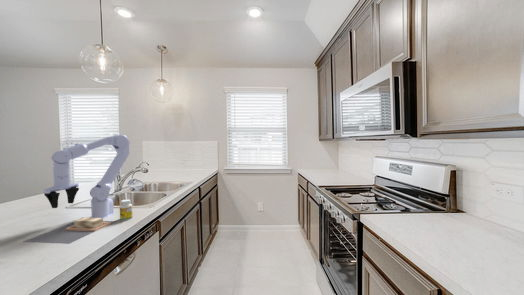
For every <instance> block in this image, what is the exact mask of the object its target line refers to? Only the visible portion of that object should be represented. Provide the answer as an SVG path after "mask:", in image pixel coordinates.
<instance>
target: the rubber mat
mask: <svg viewBox="0 0 524 295" xmlns="http://www.w3.org/2000/svg"><path fill="white" fill-rule="evenodd" d="M103 222H111V224H110V225H113V224H114V223H116V222H117V221H115V220H103ZM73 225H74V222H71V223H68V224H66V225H65V224H64V225H63V226H60V227H58V228H54V229H52V230H49V231H48V232H44V233H43V234H39V235H37V236H35V237H30V238H29V239H26V240H23V241H22V242H23V243H43V244H44V243H45V244H46V243H47V244H64V245H65V244H66V245H67V244H68V245H69V244H72V243H74V242H76V241H79V240H80V239H82V238H84V237H86V236H89V235H91V234H92V233H95V232H96V231H72V230H66V228H68V227H71V226H73ZM103 225H104V224H103ZM105 227H107V226H105ZM105 227H103V228H105ZM74 228H75V227H74ZM103 228H101V229H100V230H102V229H103Z"/></svg>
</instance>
